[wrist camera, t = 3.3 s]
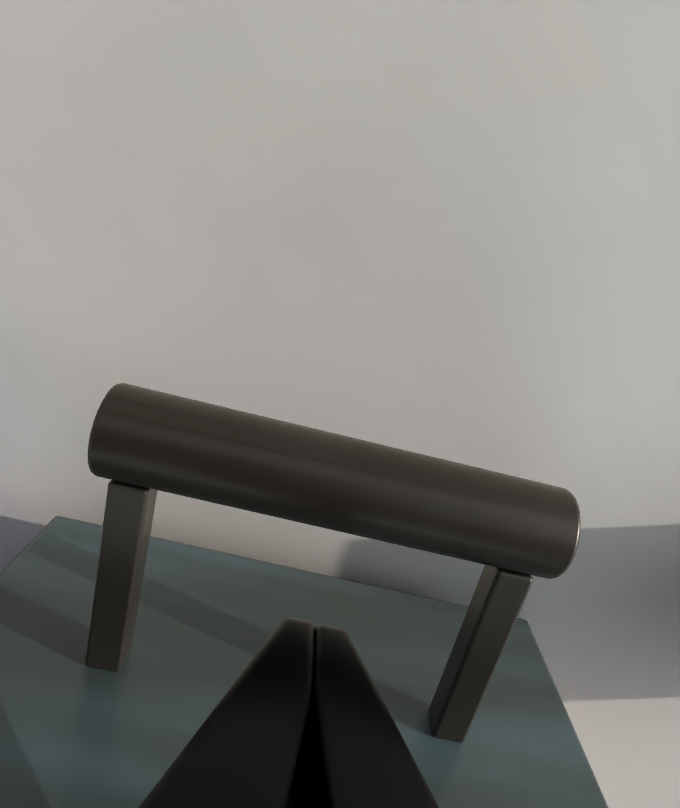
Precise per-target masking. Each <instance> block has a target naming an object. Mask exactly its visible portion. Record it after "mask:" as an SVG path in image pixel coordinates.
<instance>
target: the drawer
mask: <svg viewBox="0 0 680 808" xmlns="http://www.w3.org/2000/svg"><path fill="white" fill-rule="evenodd" d="M88 464H89V468H90V471H91V472H92V473H93V474H94V475H96V476H99V477H103V478H107V479H112V480H111V481H110V483H109V484H108V491H107V499H106V507H105V514H104V522H103V526H101V525H97V524H92V523H88V522H83V521H79V520H74V519H70V518H65V517H61V516H56V517H55V518H54V519H53V520H52V521H51V522H50V523H49V524H48V525H47V526H46V527H45V528H44V529H43V530H42V531H41V532H40V533H39V534H38V535H37V536H36V537H35V538H34V539H33V540H32V541H31V542H30V543H29V545H28V546H27V547H26V548H25V549H24V550H23V551H22V552H21V553H20V554H19V555H18V556H17V557H16V558H15V559H14V560H13V561H12V562H11V563H10V564H9V565H8V566H7V567H6V568H5V569H4V570H3V571H2V572H1V573H0V808H138V807H139V806H140V805H141V803H142V802H143V801H144V800H145V798H146V797H147V796H148V794H149V793H150V792H151V790H152V789H153V788H154V787H155V785H156V784H157V783H158V781H159V780H160V779H161V777H162V776H163V775H164V774H165V772H166V771H167V770H168V768H169V767H170V766H171V764H172V763H173V762H174V761H175V759H176V758H177V757H178V755H179V754H180V753H181V751H182V750H183V749H184V748H185V746H186V745H187V744H188V742H189V741H190V740H191V738H192V737H193V736H194V734H195V733H196V732H197V731H198V729H199V728H200V727H201V725H202V724H203V723H204V721H205V720H206V719H207V718H208V716H209V715H210V714H211V712H212V711H213V710H214V708H215V707H216V706H217V705H218V703H219V702H220V701H221V699H222V698H223V697H224V695H225V694H226V693H227V692H228V690H229V689H230V688H231V686H232V685H233V684H234V682H235V681H236V680H237V679H238V677H239V676H240V675H241V673H242V672H243V671H244V669H245V668H246V667H247V666H248V664H249V663H250V662H251V660H252V659H253V658H254V656H255V655H256V654H257V652H258V651H259V650H260V649H261V647H262V646H263V645H264V643H265V642H266V641H267V639H268V638H269V637H270V636H271V634H272V633H273V632H274V630H275V629H276V628H277V626H278V625H279V624H280V623H281V621H282V620H283V619H284V618H287V617H291V618H295V619H300V620H304V621H309V622H312V623H313V625H314V628H315V627H316V626H317V625H318V624H323V625H328V626H332V627H337V628H341V629H344V630H345V631H346V632H347V633H348V635H349V637H350V639H351V641H352V643H353V645H354V646H355V648H356V650H357V652H358V654H359V656H360V658H361V660H362V662H363V663H364V665H365V667H366V669H367V671H368V673H369V675H370V677H371V679H372V680H373V682H374V684H375V686H376V688H377V690H378V692H379V694H380V696H381V698H382V699H383V701H384V703H385V705H386V707H387V709H388V711H389V713H390V715H391V716H392V718H393V720H394V722H395V724H396V726H397V728H398V730H399V732H400V734H401V735H402V737H403V739H404V741H405V743H406V745H407V747H408V749H409V751H410V752H411V754H412V756H413V758H414V760H415V762H416V764H417V766H418V768H419V769H420V771H421V773H422V775H423V777H424V779H425V781H426V783H427V785H428V787H429V788H430V790H431V792H432V794H433V796H434V798H435V800H436V802H437V804H438V805H439V807H440V808H608V806H607V803H606V801H605V799H604V796H603V794H602V792H601V790H600V787H599V785H598V783H597V780H596V778H595V776H594V773H593V771H592V769H591V767H590V764H589V762H588V760H587V757H586V755H585V753H584V750H583V748H582V746H581V744H580V741H579V739H578V737H577V734H576V732H575V730H574V727H573V725H572V723H571V720H570V718H569V716H568V714H567V711H566V709H565V707H564V704H563V702H562V700H561V697H560V695H559V693H558V691H557V688H556V686H555V684H554V681H553V679H552V677H551V674H550V672H549V670H548V668H547V665H546V663H545V661H544V658H543V656H542V654H541V651H540V649H539V647H538V645H537V642H536V640H535V638H534V635H533V633H532V631H531V628H530V626H529V624H528V622H527V621H526V620H524V619H520V618H517V617H518V615H519V613H520V610H521V608H522V606H523V603H524V601H525V599H526V596H527V594H528V592H529V589H530V587H531V585H532V582H533V578H532V576H531V575H533V576H538V577H542V578H547V579H553V578H557V577H559V576H561V575H562V574H563V573H564V572H565V571H566V570H567V569H568V567H569V566H570V564H571V562H572V560H573V558H574V556H575V553H576V550H577V546H578V542H579V537H580V512H579V507H578V504H577V501H576V499H575V497H574V496H573V495H572V494H571V493H570V492H569V491H568V490H566V489H564V488H560V487H556V486H552V485H548V484H543V483H539V482H535V481H531V480H527V479H523V478H518V477H514V476H510V475H506V474H502V473H497V472H493V471H489V470H485V469H481V468H476V467H472V466H468V465H464V464H460V463H456V462H451V461H447V460H443V459H439V458H435V457H430V456H426V455H422V454H418V453H414V452H409V451H405V450H401V449H397V448H393V447H389V446H384V445H380V444H376V443H372V442H368V441H363V440H359V439H355V438H351V437H347V436H342V435H338V434H334V433H330V432H326V431H322V430H317V429H313V428H309V427H305V426H301V425H296V424H292V423H288V422H284V421H280V420H275V419H271V418H267V417H263V416H259V415H254V414H250V413H246V412H242V411H238V410H234V409H229V408H225V407H221V406H217V405H213V404H208V403H204V402H200V401H196V400H192V399H187V398H183V397H179V396H175V395H171V394H167V393H162V392H158V391H154V390H150V389H146V388H141V387H137V386H133V385H129V384H125V383H121V384H117V385H115V386H113V387H112V388H111V389H110V390H109V392H108V393H107V394H106V396H105V398H104V399H103V401H102V403H101V405H100V407H99V409H98V411H97V414H96V416H95V419H94V422H93V426H92V429H91V433H90V438H89V445H88ZM157 490H160V491H164V492H169V493H173V494H178V495H182V496H186V497H191V498H195V499H200V500H204V501H208V502H213V503H217V504H222V505H226V506H230V507H235V508H239V509H243V510H248V511H252V512H257V513H261V514H265V515H270V516H274V517H279V518H283V519H287V520H292V521H296V522H301V523H305V524H309V525H314V526H318V527H323V528H327V529H331V530H336V531H340V532H345V533H349V534H353V535H358V536H362V537H366V538H371V539H375V540H380V541H384V542H388V543H393V544H397V545H402V546H406V547H410V548H415V549H419V550H424V551H428V552H432V553H437V554H441V555H446V556H450V557H454V558H459V559H463V560H468V561H472V562H476V563H481V564H485V567H484V569H483V572H482V574H481V577H480V580H479V582H478V585H477V587H476V590H475V592H474V595H473V597H472V600H471V603H470V605H469V607H466V606H461V605H457V604H452V603H448V602H443V601H439V600H434V599H430V598H425V597H421V596H416V595H412V594H407V593H403V592H398V591H394V590H389V589H385V588H380V587H376V586H371V585H367V584H362V583H358V582H353V581H349V580H344V579H340V578H335V577H331V576H326V575H322V574H317V573H313V572H308V571H304V570H299V569H295V568H290V567H286V566H281V565H277V564H272V563H268V562H263V561H259V560H254V559H250V558H245V557H241V556H236V555H232V554H227V553H223V552H218V551H214V550H209V549H205V548H200V547H196V546H191V545H187V544H182V543H178V542H173V541H169V540H164V539H160V538H155V537H151V536H150V532H151V526H152V520H153V513H154V507H155V501H156V495H157Z"/></svg>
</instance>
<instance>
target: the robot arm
mask: <svg viewBox="0 0 680 808" xmlns="http://www.w3.org/2000/svg"><path fill="white" fill-rule="evenodd" d="M138 808H440V807H439V805H438V804H437V802H436V800H435V798H434V796H433V794H432V792H431V790H430V788H429V787H428V785H427V783H426V781H425V779H424V777H423V775H422V773H421V771H420V769H419V768H418V766H417V764H416V762H415V760H414V758H413V756H412V754H411V752H410V751H409V749H408V747H407V745H406V743H405V741H404V739H403V737H402V735H401V734H400V732H399V730H398V728H397V726H396V724H395V722H394V720H393V718H392V716H391V715H390V713H389V711H388V709H387V707H386V705H385V703H384V701H383V699H382V698H381V696H380V694H379V692H378V690H377V688H376V686H375V684H374V682H373V680H372V679H371V677H370V675H369V673H368V671H367V669H366V667H365V665H364V663H363V662H362V660H361V658H360V656H359V654H358V652H357V650H356V648H355V646H354V645H353V643H352V641H351V639H350V637H349V635H348V633H347V632H346V631H345V630H344V629H341V628H337V627H332V626H328V625H323V624H318V625H317V626H316V627H315V628H314V625H313V623H312V622H309V621H304V620H300V619H295V618H291V617H287V618H284V619H283V620H282V621H281V623H280V624H279V625H278V626H277V628H276V629H275V630H274V632H273V633H272V634H271V636H270V637H269V638H268V639H267V641H266V642H265V643H264V645H263V646H262V647H261V649H260V650H259V651H258V652H257V654H256V655H255V656H254V658H253V659H252V660H251V662H250V663H249V664H248V666H247V667H246V668H245V669H244V671H243V672H242V673H241V675H240V676H239V677H238V679H237V680H236V681H235V682H234V684H233V685H232V686H231V688H230V689H229V690H228V692H227V693H226V694H225V695H224V697H223V698H222V699H221V701H220V702H219V703H218V705H217V706H216V707H215V708H214V710H213V711H212V712H211V714H210V715H209V716H208V718H207V719H206V720H205V721H204V723H203V724H202V725H201V727H200V728H199V729H198V731H197V732H196V733H195V734H194V736H193V737H192V738H191V740H190V741H189V742H188V744H187V745H186V746H185V748H184V749H183V750H182V751H181V753H180V754H179V755H178V757H177V758H176V759H175V761H174V762H173V763H172V764H171V766H170V767H169V768H168V770H167V771H166V772H165V774H164V775H163V776H162V777H161V779H160V780H159V781H158V783H157V784H156V785H155V787H154V788H153V789H152V790H151V792H150V793H149V794H148V796H147V797H146V798H145V800H144V801H143V802H142V803H141V805H140V806H139V807H138Z"/></svg>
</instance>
